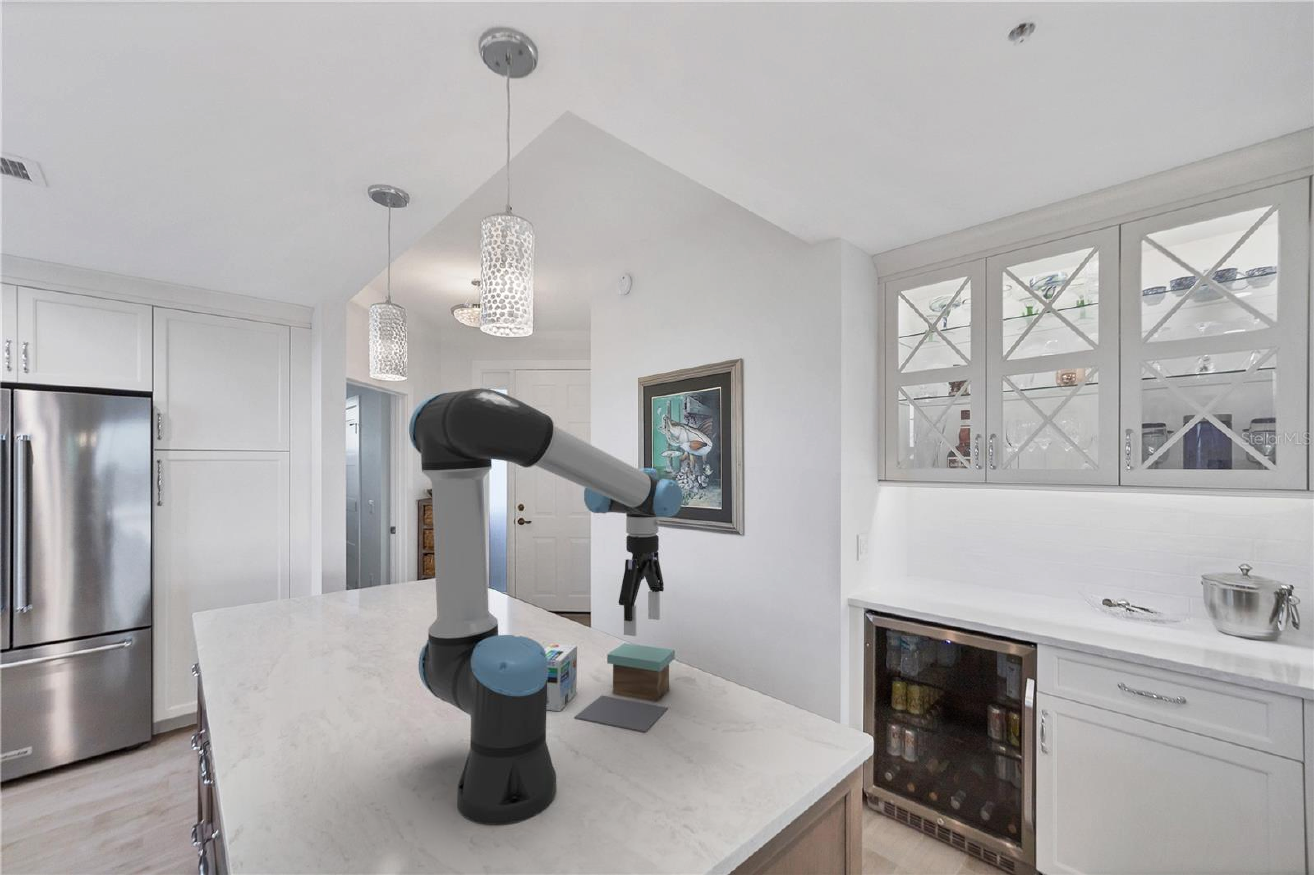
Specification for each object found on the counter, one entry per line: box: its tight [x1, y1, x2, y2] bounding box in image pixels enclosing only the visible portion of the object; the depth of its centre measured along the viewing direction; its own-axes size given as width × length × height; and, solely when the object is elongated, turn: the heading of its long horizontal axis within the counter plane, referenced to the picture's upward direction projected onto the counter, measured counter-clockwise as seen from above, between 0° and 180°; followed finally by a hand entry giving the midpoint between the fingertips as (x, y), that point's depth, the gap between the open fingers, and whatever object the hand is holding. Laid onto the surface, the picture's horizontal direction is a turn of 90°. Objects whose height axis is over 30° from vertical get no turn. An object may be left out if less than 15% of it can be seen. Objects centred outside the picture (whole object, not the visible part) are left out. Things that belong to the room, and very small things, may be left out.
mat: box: [573, 695, 669, 734], centre depth 121 cm, size 12×16×1 cm
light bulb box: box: [544, 643, 578, 712], centre depth 127 cm, size 11×7×11 cm, turn 168°
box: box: [612, 663, 670, 703], centre depth 132 cm, size 7×11×7 cm, turn 67°
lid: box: [606, 642, 676, 671], centre depth 133 cm, size 9×13×3 cm
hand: (642, 626), depth 133 cm, fingers open, 13 cm apart
